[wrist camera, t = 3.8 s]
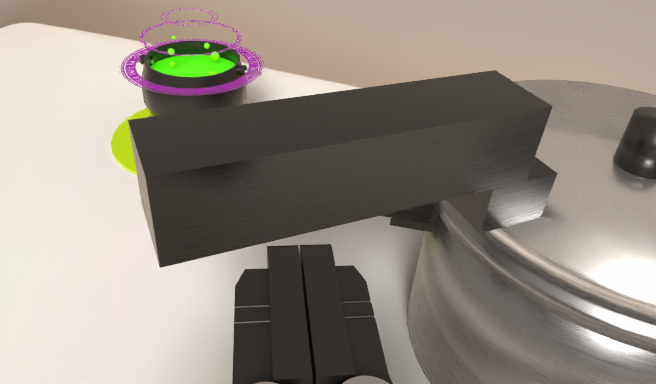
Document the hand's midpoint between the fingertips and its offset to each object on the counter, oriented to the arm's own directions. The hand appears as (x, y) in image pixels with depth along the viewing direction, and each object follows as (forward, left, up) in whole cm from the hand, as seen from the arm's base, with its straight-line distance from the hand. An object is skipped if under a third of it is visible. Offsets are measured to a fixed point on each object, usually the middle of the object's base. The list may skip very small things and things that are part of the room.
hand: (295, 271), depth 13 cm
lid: (-12, +6, -5) cm, 14 cm away
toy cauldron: (-26, -22, -16) cm, 38 cm away
